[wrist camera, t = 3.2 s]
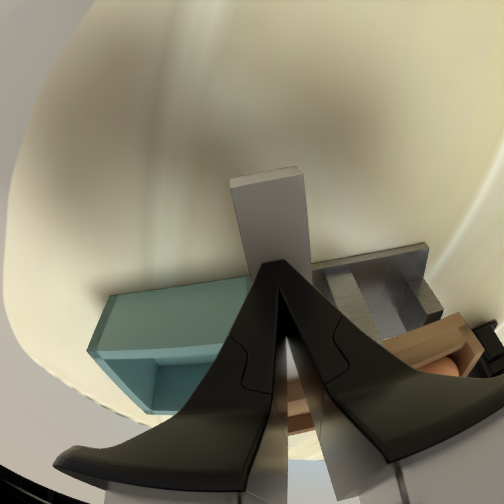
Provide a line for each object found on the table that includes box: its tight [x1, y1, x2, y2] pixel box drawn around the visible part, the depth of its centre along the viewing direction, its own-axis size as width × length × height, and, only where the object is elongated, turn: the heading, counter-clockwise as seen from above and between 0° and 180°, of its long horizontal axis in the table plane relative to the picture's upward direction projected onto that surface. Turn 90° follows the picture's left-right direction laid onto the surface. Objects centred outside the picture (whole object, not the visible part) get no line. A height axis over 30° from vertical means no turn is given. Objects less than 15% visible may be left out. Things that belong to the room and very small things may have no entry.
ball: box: [417, 356, 459, 376], centre depth 13 cm, size 3×3×3 cm
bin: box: [87, 276, 252, 415], centre depth 18 cm, size 9×11×5 cm
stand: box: [311, 243, 444, 348], centre depth 17 cm, size 9×11×7 cm
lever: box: [229, 166, 484, 436], centre depth 11 cm, size 16×14×3 cm
